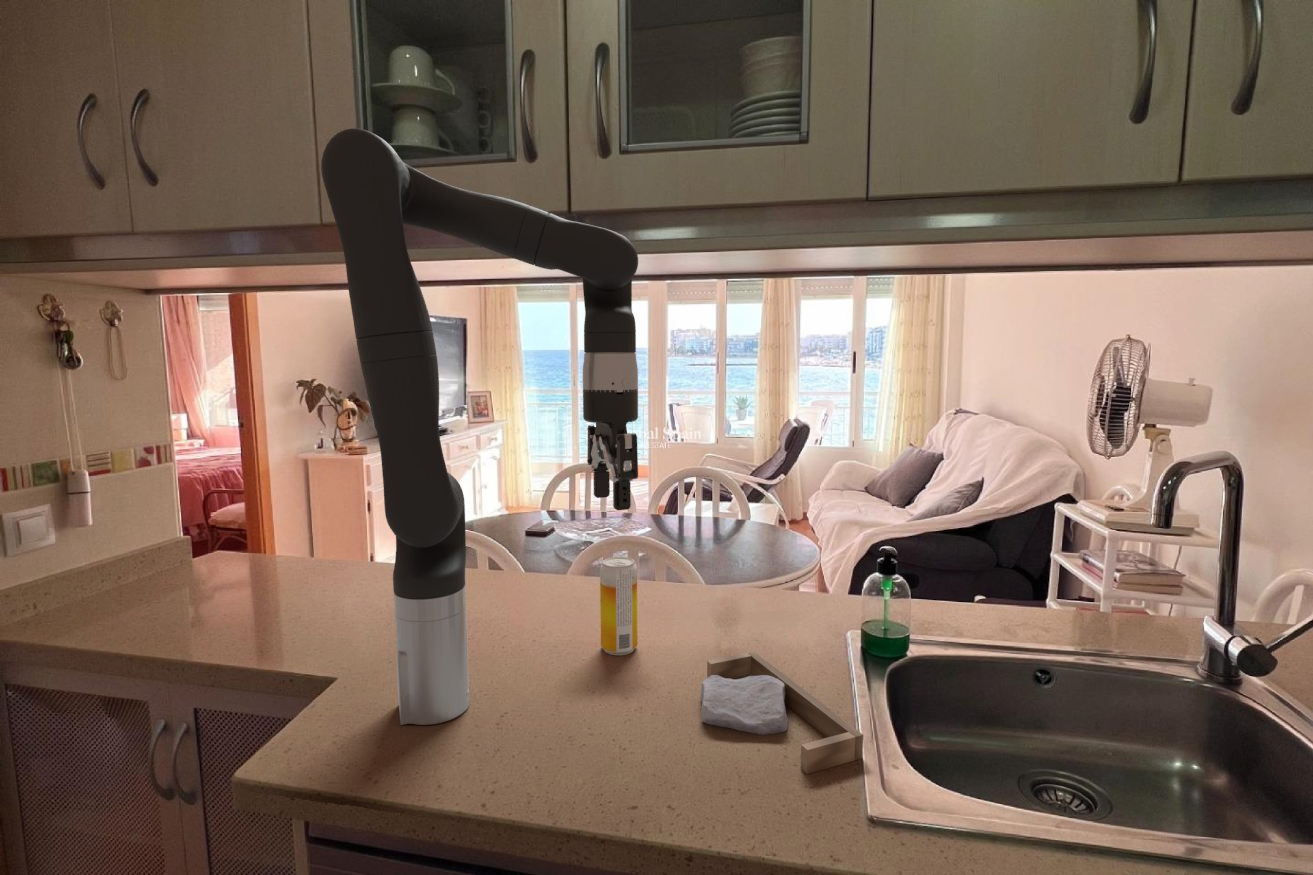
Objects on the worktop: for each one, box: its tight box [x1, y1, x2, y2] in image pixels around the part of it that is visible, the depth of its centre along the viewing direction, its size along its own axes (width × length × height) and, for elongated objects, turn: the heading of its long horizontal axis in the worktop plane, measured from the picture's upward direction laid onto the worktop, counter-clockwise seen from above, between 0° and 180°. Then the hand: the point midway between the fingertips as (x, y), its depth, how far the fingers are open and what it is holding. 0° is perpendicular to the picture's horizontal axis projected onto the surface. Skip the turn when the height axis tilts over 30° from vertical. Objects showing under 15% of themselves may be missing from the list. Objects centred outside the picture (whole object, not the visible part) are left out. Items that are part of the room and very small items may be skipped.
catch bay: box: [706, 651, 864, 775], centre depth 91 cm, size 8×25×3 cm, turn 23°
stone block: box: [699, 675, 789, 736], centre depth 91 cm, size 12×5×10 cm
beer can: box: [599, 556, 638, 656], centre depth 111 cm, size 6×6×15 cm
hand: (611, 503), depth 94 cm, fingers open, 8 cm apart
